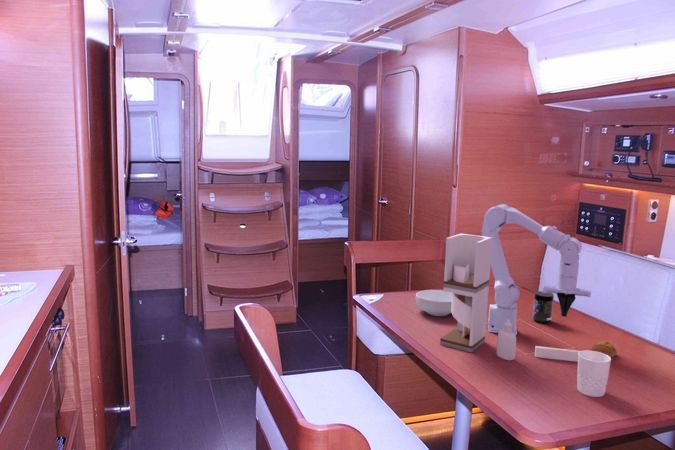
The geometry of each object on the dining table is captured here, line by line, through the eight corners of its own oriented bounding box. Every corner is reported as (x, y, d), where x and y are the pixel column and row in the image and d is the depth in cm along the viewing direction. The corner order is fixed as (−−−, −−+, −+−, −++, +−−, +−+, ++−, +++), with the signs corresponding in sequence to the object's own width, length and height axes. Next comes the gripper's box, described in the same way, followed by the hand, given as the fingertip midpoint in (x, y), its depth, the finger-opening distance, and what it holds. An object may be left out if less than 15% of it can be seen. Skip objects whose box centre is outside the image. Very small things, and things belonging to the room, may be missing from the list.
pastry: (607, 363, 164) (608, 351, 164) (584, 357, 169) (585, 345, 169) (617, 355, 171) (618, 343, 170) (595, 349, 176) (596, 337, 175)
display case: (454, 334, 185) (460, 233, 179) (484, 341, 179) (492, 237, 173) (440, 344, 176) (446, 238, 170) (471, 352, 169) (479, 242, 164)
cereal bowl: (466, 311, 210) (467, 294, 209) (450, 323, 196) (451, 304, 195) (425, 303, 219) (426, 286, 218) (407, 314, 205) (408, 296, 204)
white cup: (569, 384, 149) (572, 350, 147) (596, 384, 149) (600, 350, 148) (584, 398, 141) (588, 362, 139) (613, 398, 142) (617, 362, 140)
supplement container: (538, 316, 206) (541, 290, 204) (555, 321, 201) (557, 294, 199) (528, 320, 202) (530, 293, 200) (544, 325, 197) (547, 297, 195)
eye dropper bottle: (508, 353, 169) (511, 316, 167) (515, 361, 164) (519, 323, 162) (495, 353, 169) (498, 316, 167) (501, 361, 163) (504, 323, 162)
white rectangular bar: (535, 356, 167) (536, 347, 167) (534, 355, 169) (535, 345, 168) (584, 362, 164) (585, 353, 164) (583, 360, 166) (584, 351, 165)
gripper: (545, 276, 174) (541, 316, 176) (594, 280, 171) (589, 322, 173) (543, 271, 181) (539, 310, 183) (590, 275, 177) (585, 315, 180)
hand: (563, 315), depth 178 cm, fingers closed
